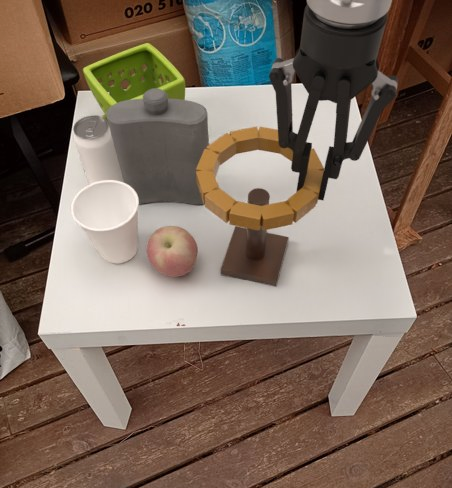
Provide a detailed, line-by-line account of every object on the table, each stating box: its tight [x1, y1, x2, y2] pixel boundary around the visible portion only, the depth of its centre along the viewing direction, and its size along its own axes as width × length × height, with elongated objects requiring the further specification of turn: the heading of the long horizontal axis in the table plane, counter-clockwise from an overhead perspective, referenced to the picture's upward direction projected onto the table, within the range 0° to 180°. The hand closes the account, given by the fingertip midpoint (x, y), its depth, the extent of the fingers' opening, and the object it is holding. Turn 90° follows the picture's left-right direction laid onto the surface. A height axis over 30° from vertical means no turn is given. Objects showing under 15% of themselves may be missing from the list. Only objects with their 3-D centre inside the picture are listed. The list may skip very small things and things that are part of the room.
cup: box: [70, 180, 140, 264], centre depth 78 cm, size 10×10×11 cm
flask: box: [106, 88, 210, 206], centre depth 80 cm, size 15×6×20 cm, turn 88°
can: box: [72, 114, 124, 185], centre depth 86 cm, size 6×6×12 cm
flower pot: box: [82, 42, 186, 125], centre depth 92 cm, size 14×14×13 cm
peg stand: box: [220, 187, 290, 287], centre depth 75 cm, size 9×9×14 cm
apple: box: [146, 225, 199, 277], centre depth 77 cm, size 8×8×8 cm
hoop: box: [196, 126, 325, 231], centre depth 66 cm, size 16×16×2 cm
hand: (311, 190), depth 65 cm, fingers closed on hoop, 2 cm apart
